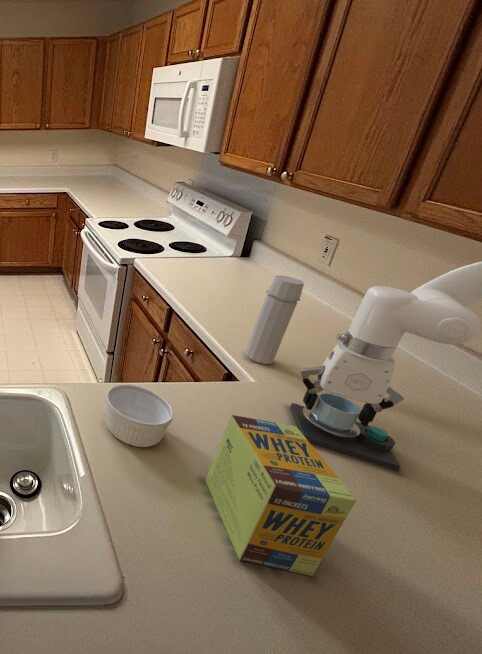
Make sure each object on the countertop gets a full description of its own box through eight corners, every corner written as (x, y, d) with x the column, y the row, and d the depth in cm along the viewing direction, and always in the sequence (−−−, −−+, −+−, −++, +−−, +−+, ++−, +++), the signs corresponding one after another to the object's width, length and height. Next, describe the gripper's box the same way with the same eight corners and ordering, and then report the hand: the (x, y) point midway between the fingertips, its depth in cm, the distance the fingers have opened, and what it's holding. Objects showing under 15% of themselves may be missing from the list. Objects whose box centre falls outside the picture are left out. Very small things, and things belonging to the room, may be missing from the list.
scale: (376, 433, 92) (382, 422, 91) (400, 472, 82) (407, 461, 80) (289, 407, 99) (294, 397, 98) (301, 440, 88) (306, 429, 87)
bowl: (345, 416, 92) (354, 399, 90) (356, 436, 86) (365, 418, 84) (307, 405, 94) (314, 388, 93) (314, 423, 88) (323, 406, 87)
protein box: (239, 562, 61) (275, 486, 56) (203, 480, 76) (229, 412, 70) (314, 578, 60) (360, 501, 54) (264, 491, 74) (296, 423, 69)
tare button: (381, 435, 88) (385, 429, 87) (387, 443, 85) (390, 438, 85) (364, 429, 89) (367, 424, 88) (369, 438, 86) (372, 432, 86)
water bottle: (274, 369, 115) (308, 287, 106) (242, 359, 119) (272, 279, 109) (273, 355, 122) (304, 277, 113) (242, 346, 126) (271, 270, 117)
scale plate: (351, 416, 92) (351, 415, 92) (366, 444, 84) (367, 443, 84) (298, 401, 96) (298, 399, 96) (307, 426, 88) (308, 425, 88)
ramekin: (111, 401, 96) (117, 376, 93) (170, 426, 89) (179, 400, 86) (91, 432, 85) (97, 405, 83) (157, 463, 79) (166, 435, 76)
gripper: (320, 341, 83) (290, 409, 90) (433, 368, 76) (392, 440, 83) (311, 327, 90) (284, 391, 96) (415, 350, 83) (378, 418, 89)
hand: (334, 414), depth 89 cm, fingers open, 9 cm apart
